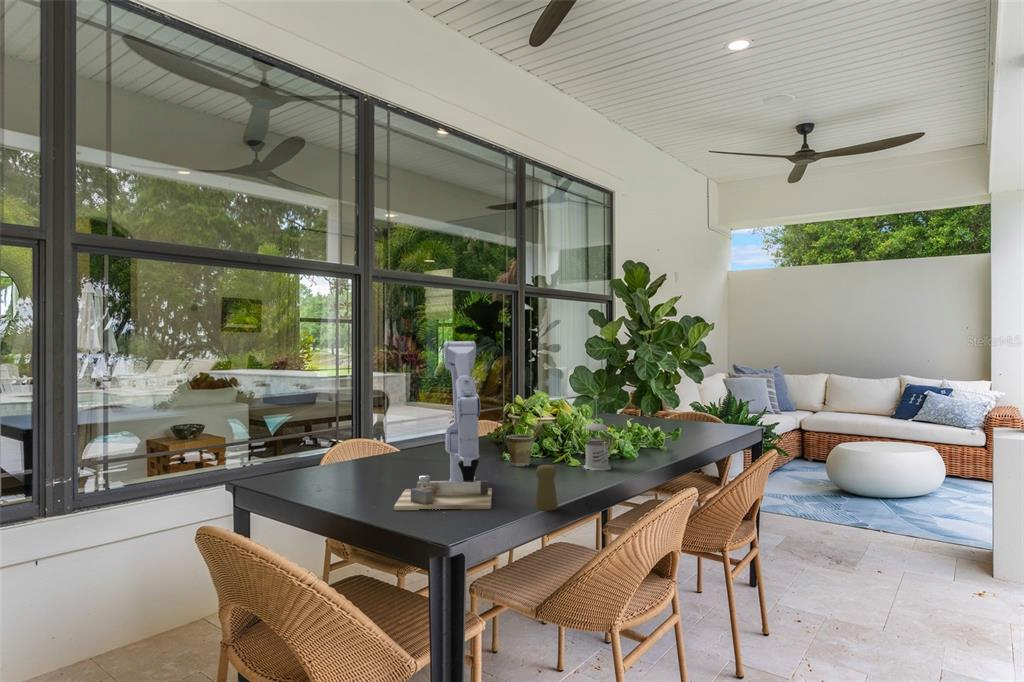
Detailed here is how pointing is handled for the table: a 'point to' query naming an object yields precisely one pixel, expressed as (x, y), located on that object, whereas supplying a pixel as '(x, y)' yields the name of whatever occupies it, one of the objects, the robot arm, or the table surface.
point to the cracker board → (446, 501)
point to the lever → (454, 486)
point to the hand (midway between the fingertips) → (468, 486)
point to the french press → (597, 447)
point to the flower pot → (520, 449)
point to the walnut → (432, 490)
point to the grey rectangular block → (422, 496)
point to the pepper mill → (546, 488)
